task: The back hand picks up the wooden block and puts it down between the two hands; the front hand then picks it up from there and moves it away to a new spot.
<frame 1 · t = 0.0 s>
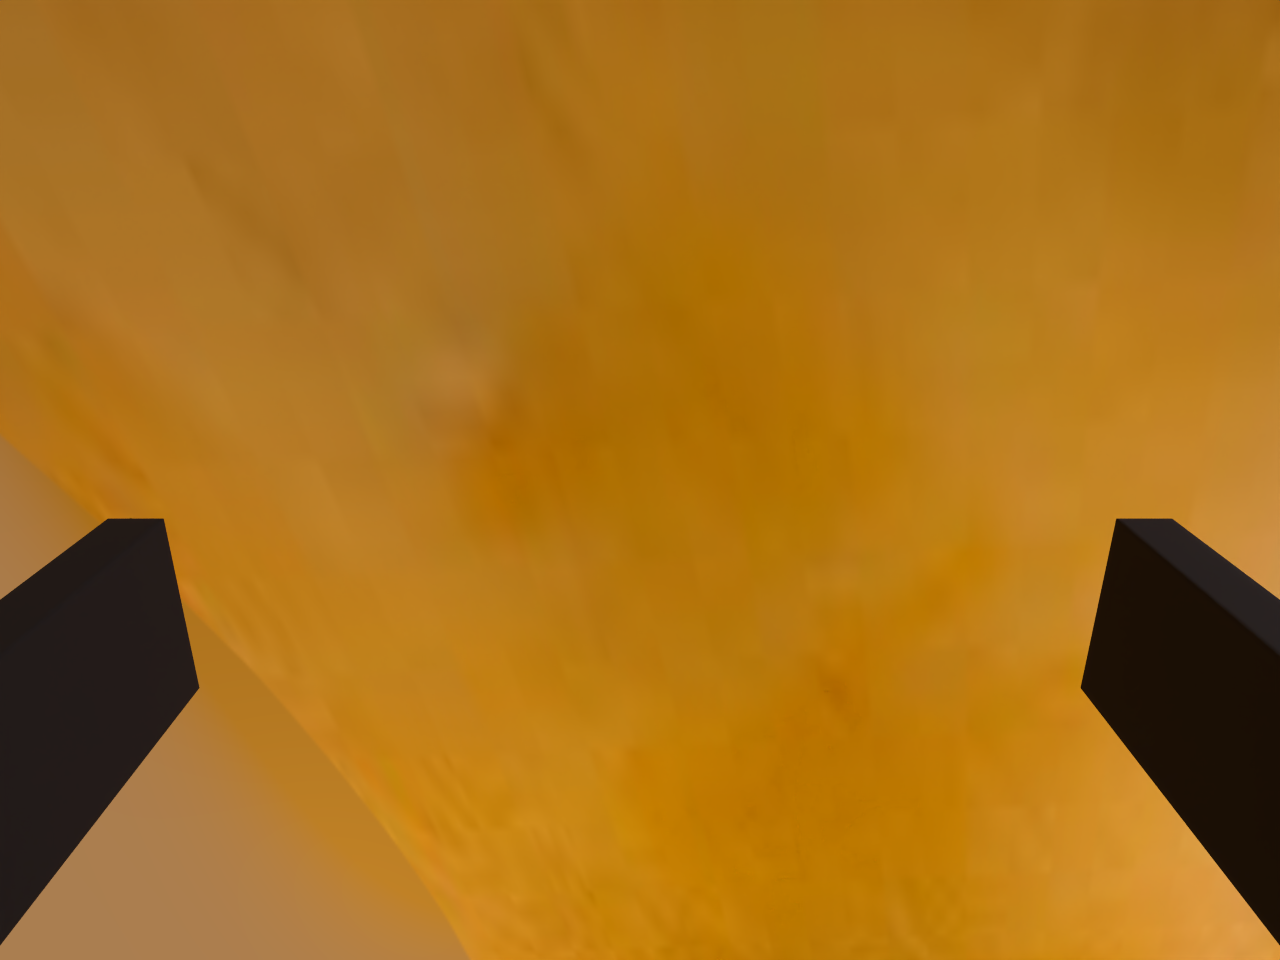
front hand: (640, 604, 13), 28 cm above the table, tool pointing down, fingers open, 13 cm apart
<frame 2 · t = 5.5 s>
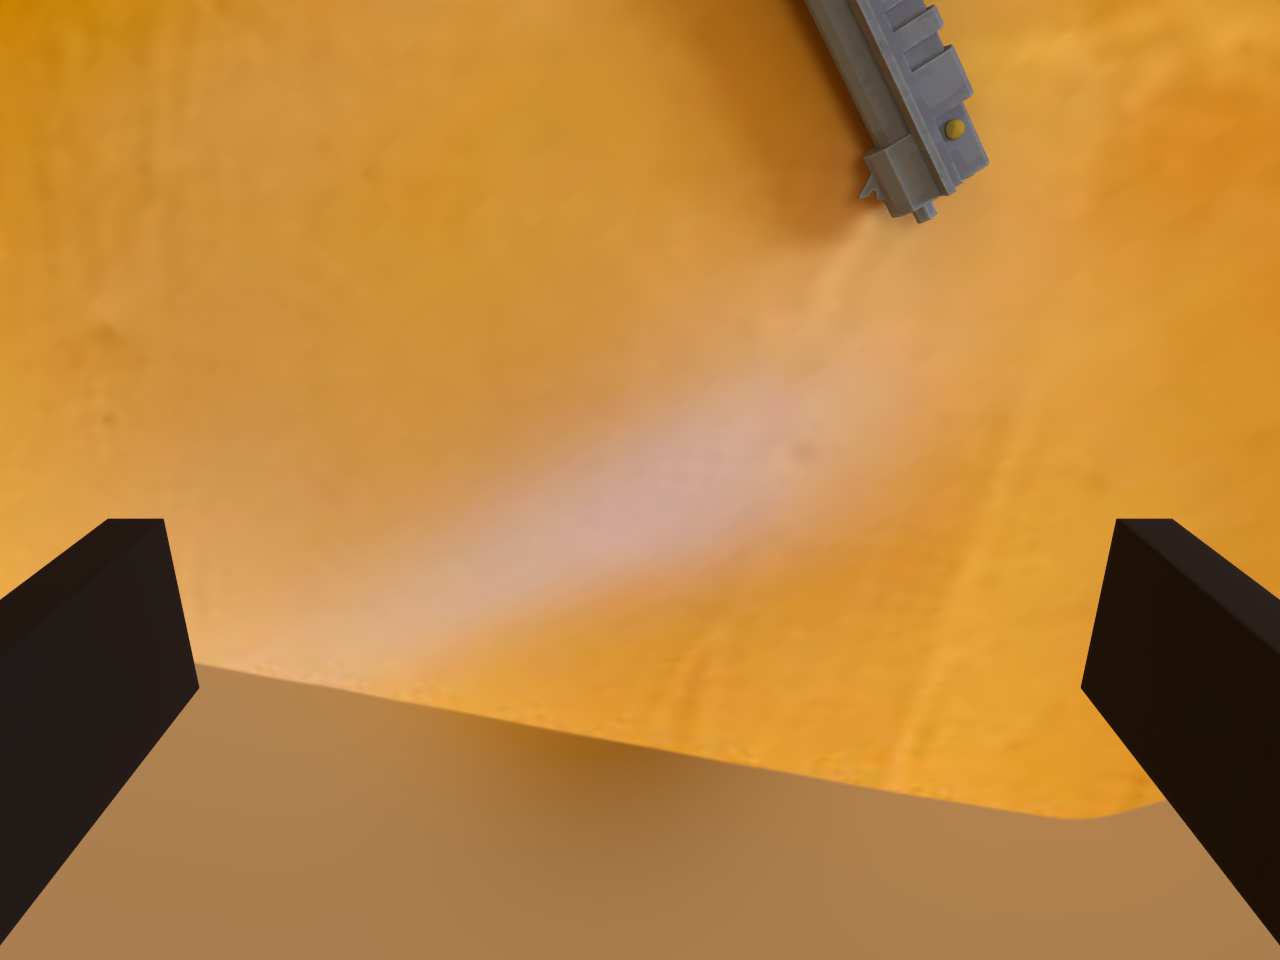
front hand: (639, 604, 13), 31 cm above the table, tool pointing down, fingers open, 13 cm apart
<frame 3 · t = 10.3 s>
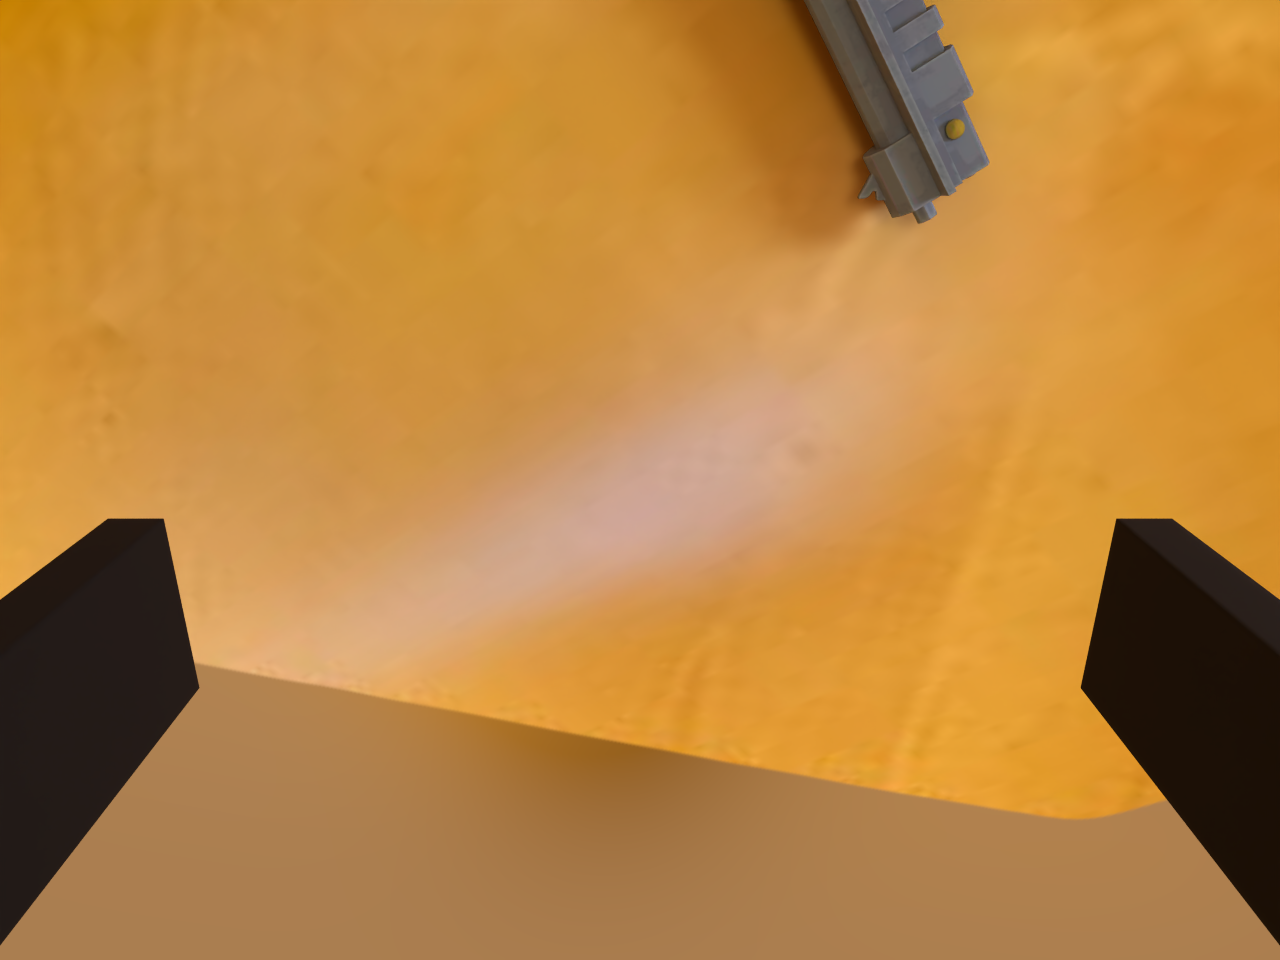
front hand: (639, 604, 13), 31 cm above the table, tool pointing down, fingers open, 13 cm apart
when the back hand's fingers open (6 cm above the table, at t = 15.5 s): block drops 2 cm, on the table.
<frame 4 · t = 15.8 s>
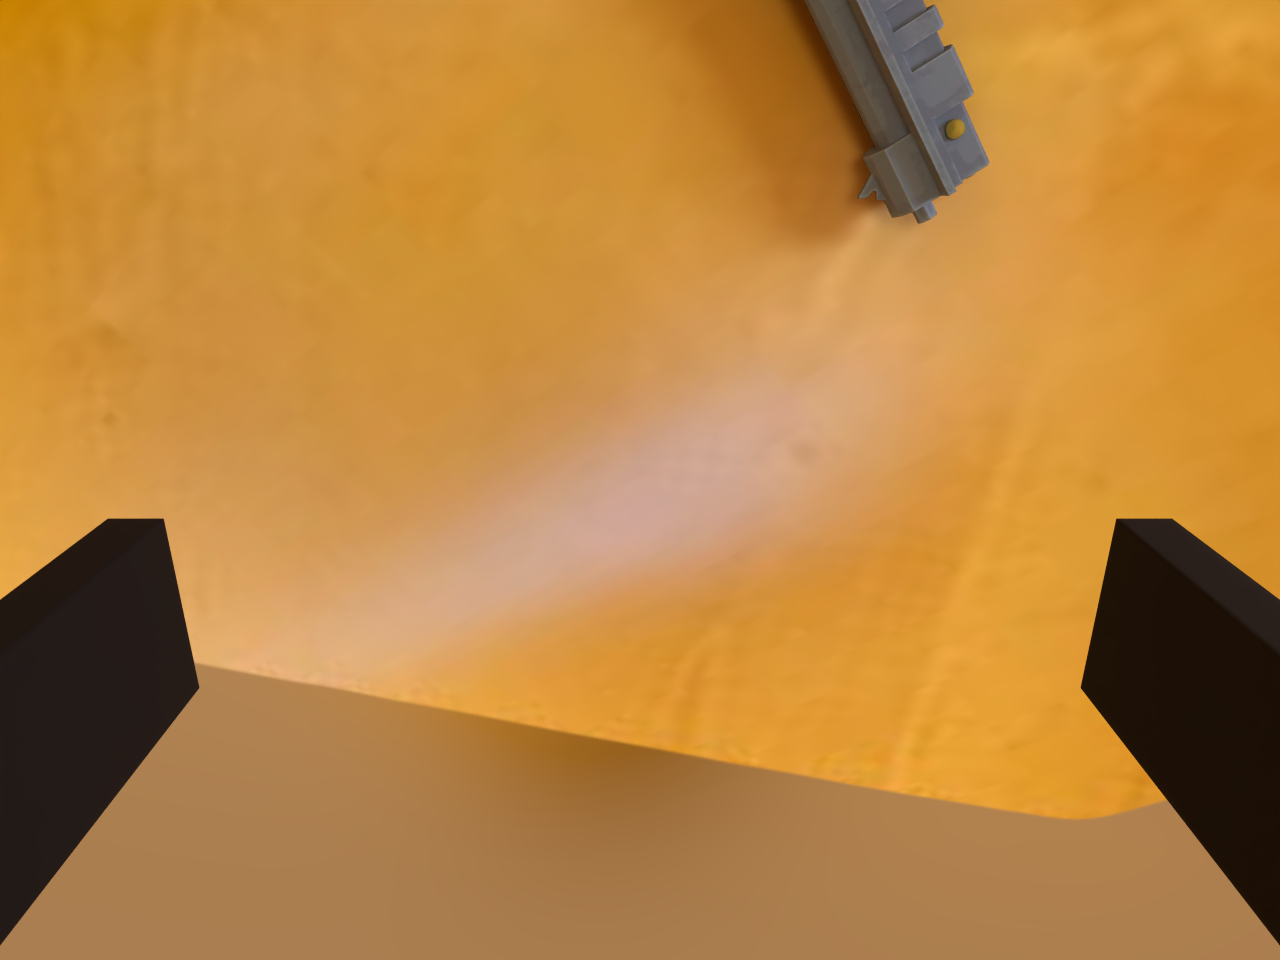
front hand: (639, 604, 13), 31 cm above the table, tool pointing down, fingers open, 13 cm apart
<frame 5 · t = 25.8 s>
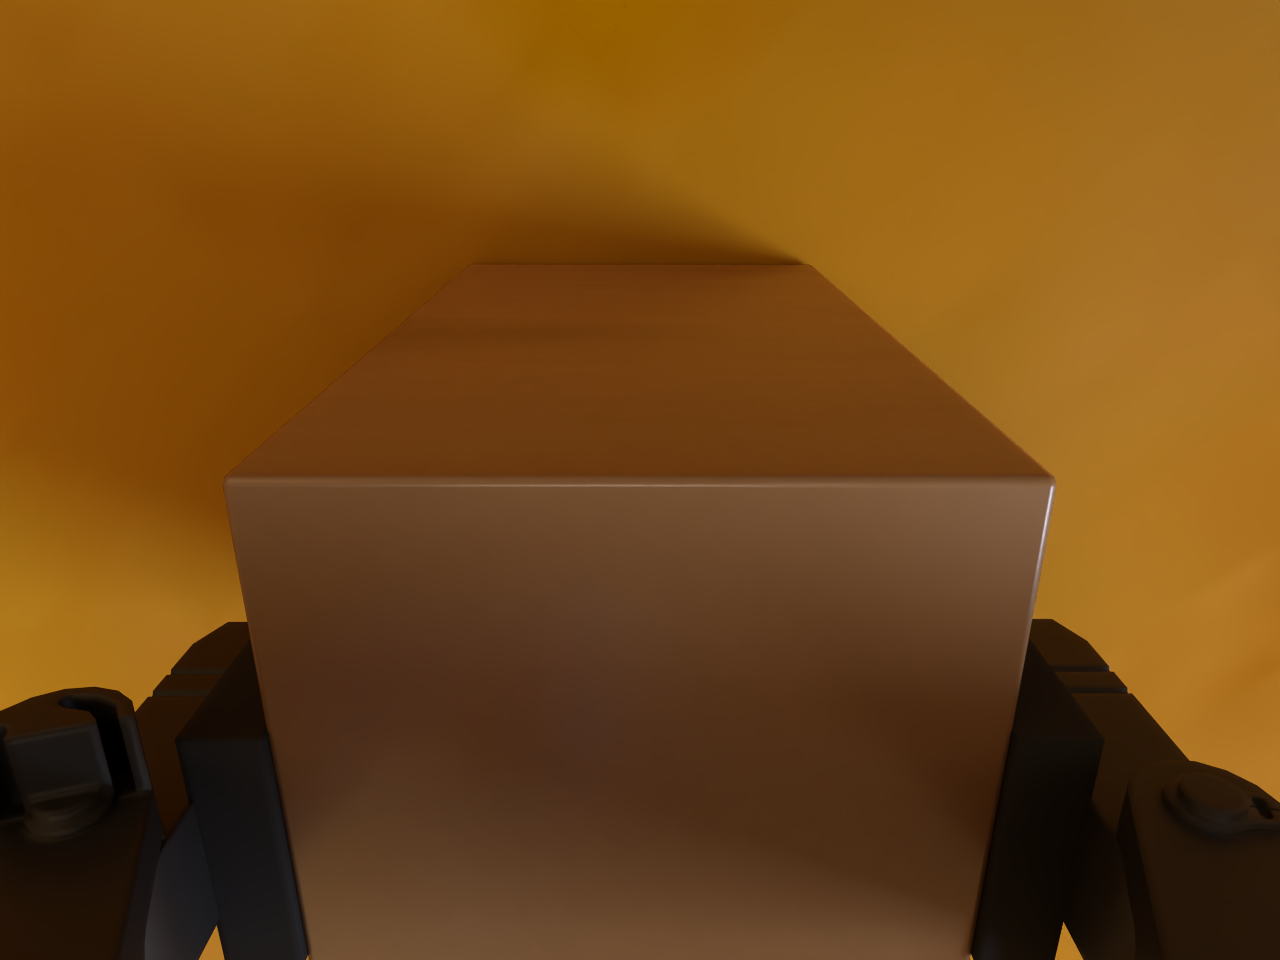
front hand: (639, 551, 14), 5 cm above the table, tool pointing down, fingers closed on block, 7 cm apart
block: (640, 451, 19), on the table, touching front hand
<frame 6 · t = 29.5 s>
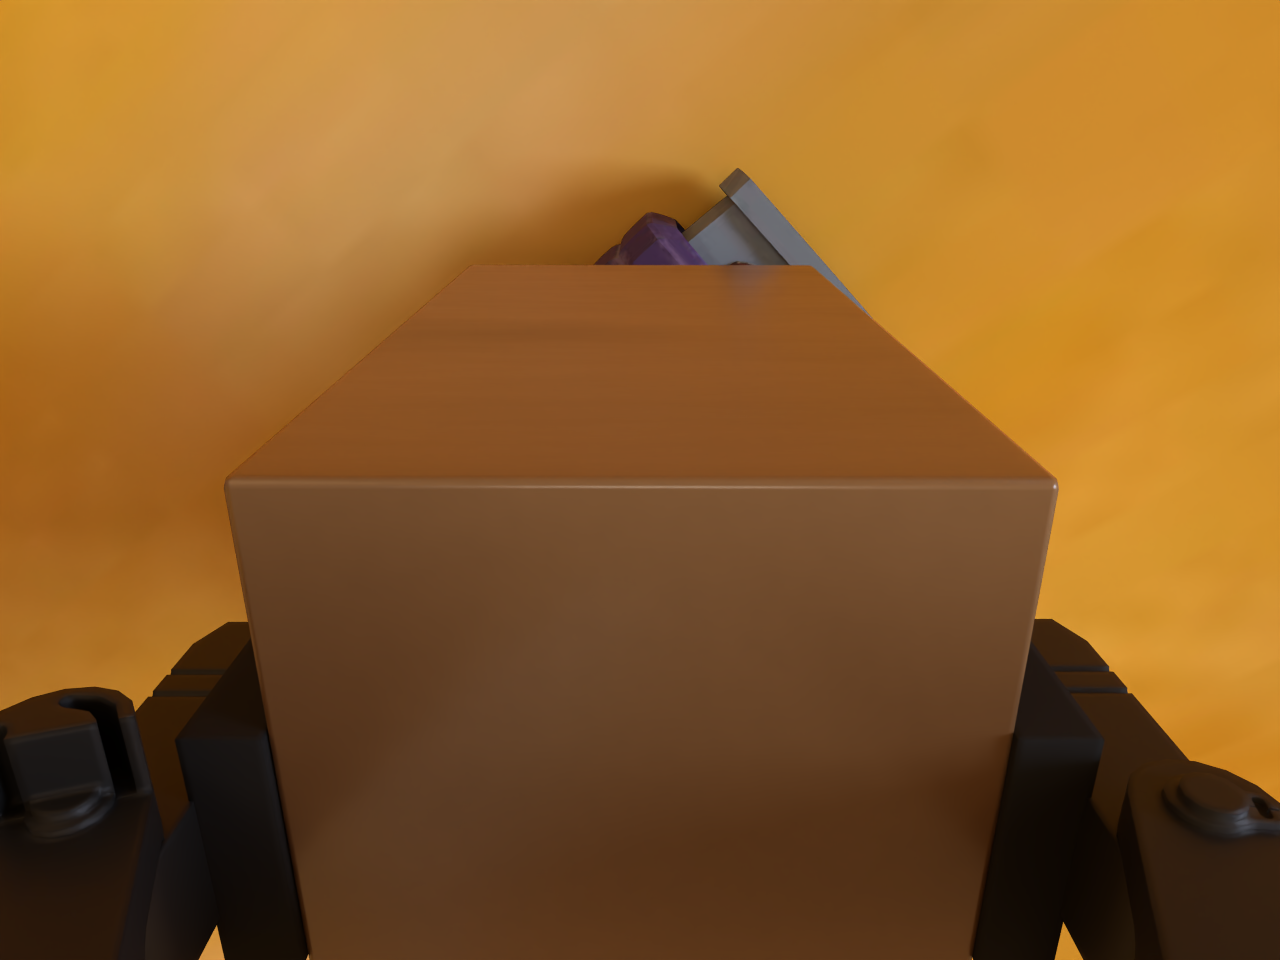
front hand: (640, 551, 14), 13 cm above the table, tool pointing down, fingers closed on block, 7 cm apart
block: (640, 451, 19), point 8 cm above the table, touching front hand
toy gun: (695, 541, 28), on the table
when the front hand's fingers open (6 cm above the table, at t = 33.3 s): block drops 2 cm, on the table.
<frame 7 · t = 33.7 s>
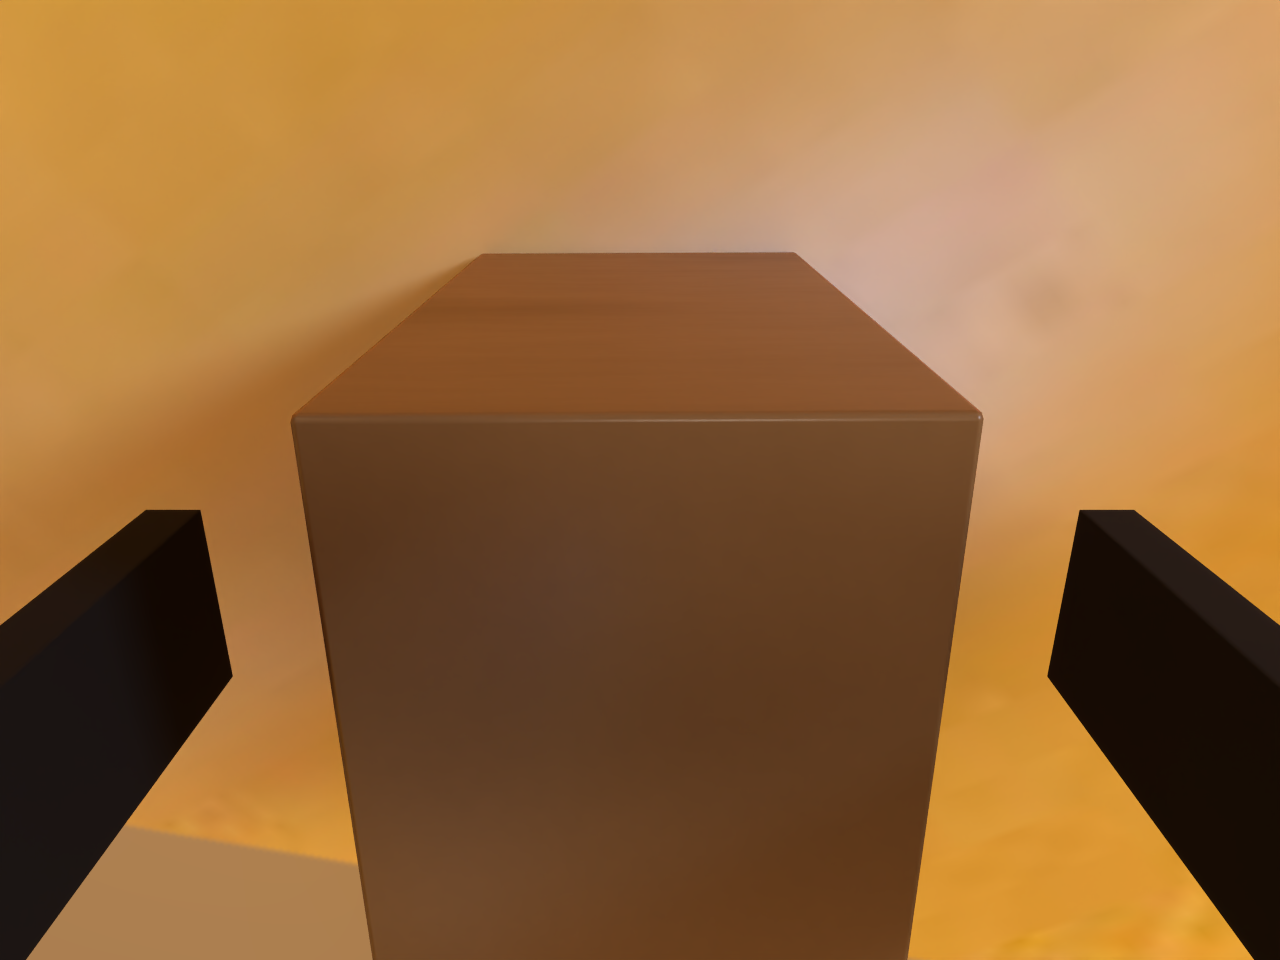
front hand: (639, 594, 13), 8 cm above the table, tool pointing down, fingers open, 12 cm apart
block: (639, 427, 20), on the table
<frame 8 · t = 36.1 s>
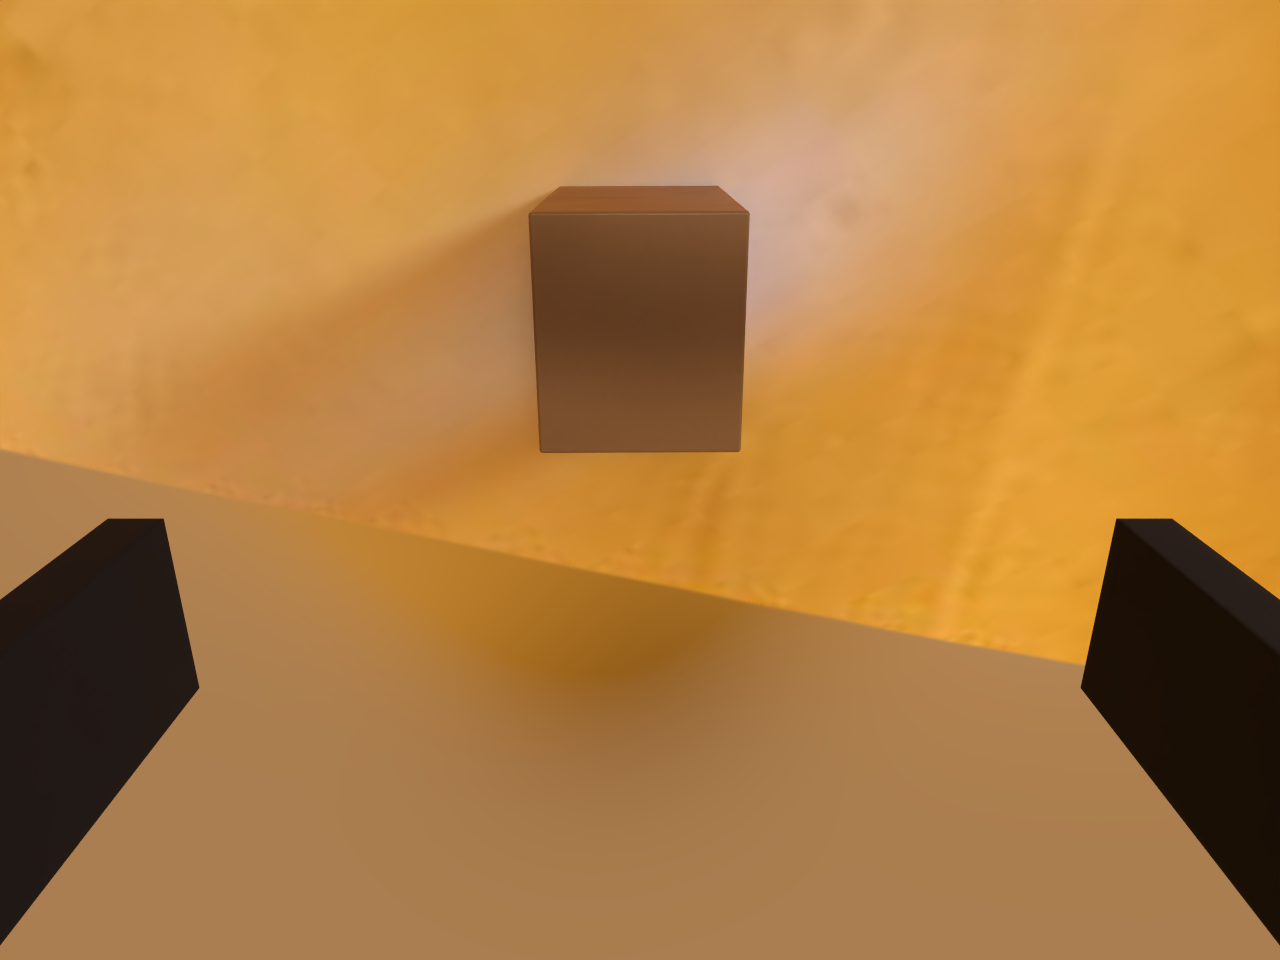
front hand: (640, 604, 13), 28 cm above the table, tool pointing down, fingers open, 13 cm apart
block: (639, 279, 39), on the table
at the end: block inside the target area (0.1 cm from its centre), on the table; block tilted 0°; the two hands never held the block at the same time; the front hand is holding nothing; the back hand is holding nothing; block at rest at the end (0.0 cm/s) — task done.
